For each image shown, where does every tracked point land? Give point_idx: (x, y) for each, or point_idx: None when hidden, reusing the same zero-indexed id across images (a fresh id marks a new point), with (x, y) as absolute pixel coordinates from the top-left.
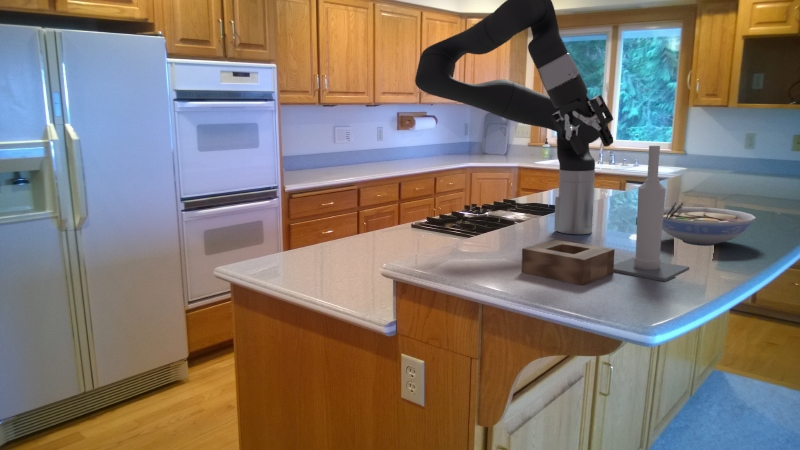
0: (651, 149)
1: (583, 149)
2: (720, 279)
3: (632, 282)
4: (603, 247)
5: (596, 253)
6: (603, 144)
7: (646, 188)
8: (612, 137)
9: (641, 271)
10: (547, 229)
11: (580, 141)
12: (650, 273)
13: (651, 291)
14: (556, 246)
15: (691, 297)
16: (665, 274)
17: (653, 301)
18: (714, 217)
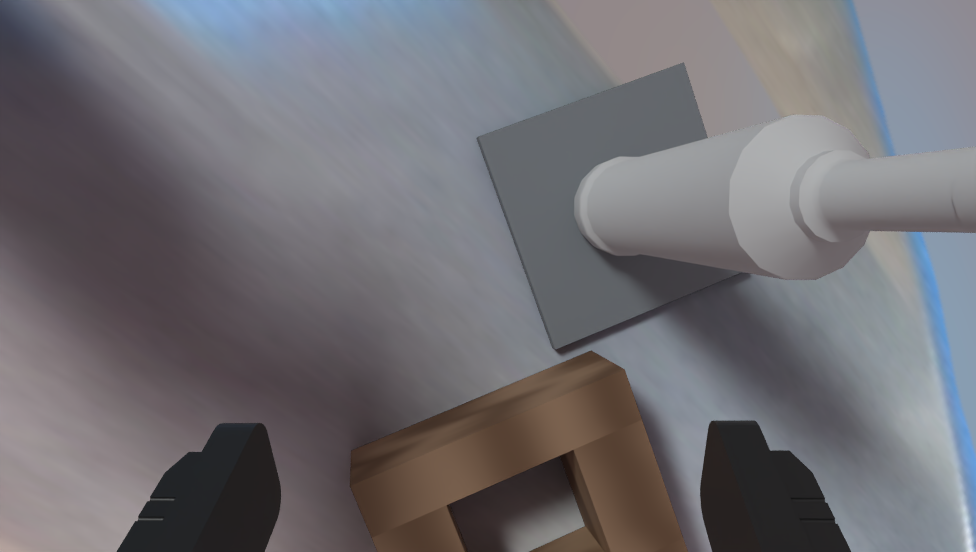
0: None
1: (259, 449)
2: (805, 79)
3: (703, 371)
4: (578, 387)
5: (647, 483)
6: (708, 530)
7: (829, 271)
8: (814, 482)
9: (651, 272)
10: None
11: (218, 526)
12: (684, 264)
13: (795, 389)
14: (462, 546)
15: (883, 327)
16: None
17: (860, 453)
18: None
